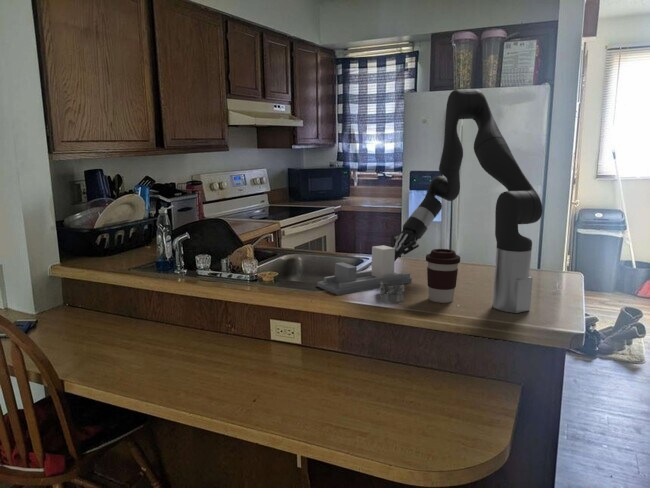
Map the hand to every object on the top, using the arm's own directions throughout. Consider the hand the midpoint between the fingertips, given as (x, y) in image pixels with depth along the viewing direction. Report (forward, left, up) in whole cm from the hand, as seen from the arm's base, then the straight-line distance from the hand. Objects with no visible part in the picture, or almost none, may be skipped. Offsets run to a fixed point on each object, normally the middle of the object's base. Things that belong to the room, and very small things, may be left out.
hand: (390, 260), depth 174 cm
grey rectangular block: (0, +18, -5) cm, 19 cm away
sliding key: (0, +3, -5) cm, 6 cm away
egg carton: (-16, +12, -7) cm, 21 cm away
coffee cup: (-26, +1, -7) cm, 27 cm away
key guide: (0, +10, -7) cm, 12 cm away
